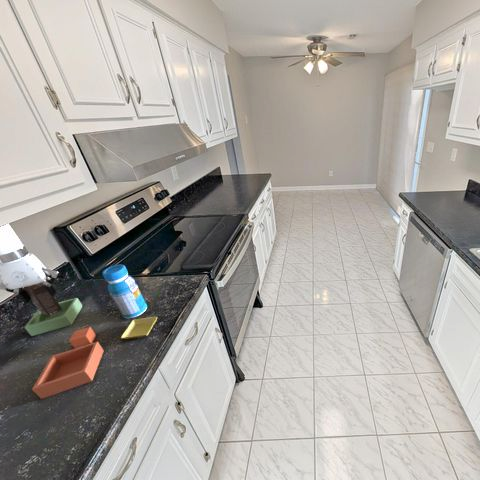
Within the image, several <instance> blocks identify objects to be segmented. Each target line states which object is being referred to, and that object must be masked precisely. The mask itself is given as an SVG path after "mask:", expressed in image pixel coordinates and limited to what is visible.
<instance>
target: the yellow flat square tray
mask: <svg viewBox="0 0 480 480" xmlns="http://www.w3.org/2000/svg"><path fill="white" fill-rule="evenodd" d="M157 320H158V316H150V317H141V318H135V319H134V318H133V319H132V320H131V321H130V323H129V324H128V326H127V327H126V329H125V330H124V332H123V333H122V335H121V336H120V339H123V340H129V339H136V338H145V337H147V336H148V335H150V332H151V330H152V328H153V327H154V325H155V324H156V322H157Z"/></svg>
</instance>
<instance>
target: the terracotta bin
mask: <svg viewBox="0 0 480 480" xmlns="http://www.w3.org/2000/svg"><path fill="white" fill-rule="evenodd" d="M104 351H105V350H104V348H103V347H102V346H101V344H100V343H99V341H93V343H91V344H88V345H85V346H81V347H78V348H72V349H68V350H66V351H65V350H64V351H63V352H62V351H61V352H60V353H56V354H52V355H51V357H50V358H49V360H48V361H47V363H46V364H45V366H44V368H43V370H42V371H41V373H40V375H39V377H38V378H37V379H36V382H35V383H34V385H33V386H32V388H31V390H32V391H33V392H34V393H35V394H36V395H37V396H38V397H39V398H40V400H42V399H45V398H49V397H51V396H54V395H57V394H60V393H62V392H66V391H68V390H71V389H73V388H74V389H75V388H76V387H79V386H81V385H86V384H88V383H91V382H93V380H94V378H95V375H96V373H97V370H98V367H99V365H100V362H101V359H102V357H103V354H104Z"/></svg>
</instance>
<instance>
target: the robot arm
mask: <svg viewBox="0 0 480 480" xmlns="http://www.w3.org/2000/svg"><path fill="white" fill-rule="evenodd" d="M59 275H60V271H57V270H54V269H53V270H52V269H48V268H47V267H46V266H45V265H44V264H43V262H42V261H41V260H40V259H39V258H38V257H37V256H36V255H35V254H34V253H32V252H29V251H28V249H27V248H26V246H25V245H24V244H23V242H22V240H20V238H19V236H18V235H17V234H16V232H15V230H14V229H13V228H12V226H11V225H10V223H8V224H6V225H4V226H1V227H0V281H1V282H0V290H3V291H6V292H8V293H13V295H17V296H18V298H19V299H20V300H21V301H23V302H24V304H27V303H29V301H30V300H32V299H31V298H30V296H29V295H28V294H27V292H26V291H25V289H24V287H26V286H31V285H35V284H39V283H42V284H44V285H46V286H47V287H46V289H47V290H48V291H49V293H50V294H51V296H54V297H55V296H56V295H57V293H58V292H59V288H58V287H57V286H56V284H55V282H56V280H57V279H58V276H59ZM49 276H51V277H49Z"/></svg>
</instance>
